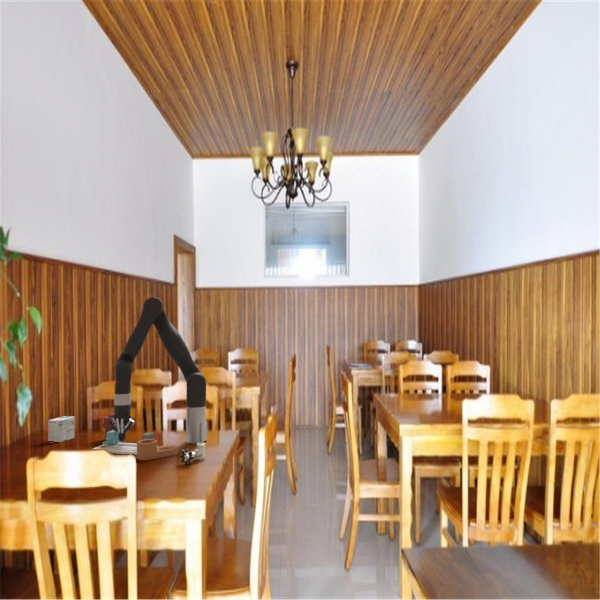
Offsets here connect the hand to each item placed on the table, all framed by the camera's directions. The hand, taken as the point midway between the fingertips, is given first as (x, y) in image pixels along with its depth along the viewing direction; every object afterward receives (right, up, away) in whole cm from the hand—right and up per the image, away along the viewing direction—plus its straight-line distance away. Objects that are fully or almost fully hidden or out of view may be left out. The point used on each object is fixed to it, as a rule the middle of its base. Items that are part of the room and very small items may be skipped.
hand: (121, 440), depth 227 cm
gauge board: (+3, -3, -4) cm, 6 cm away
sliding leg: (-5, -1, -1) cm, 5 cm away
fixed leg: (+12, -1, -5) cm, 14 cm away
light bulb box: (-35, -4, +14) cm, 38 cm away
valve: (+39, -3, -22) cm, 45 cm away
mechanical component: (-10, -4, +15) cm, 18 cm away
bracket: (+21, -3, -13) cm, 25 cm away
